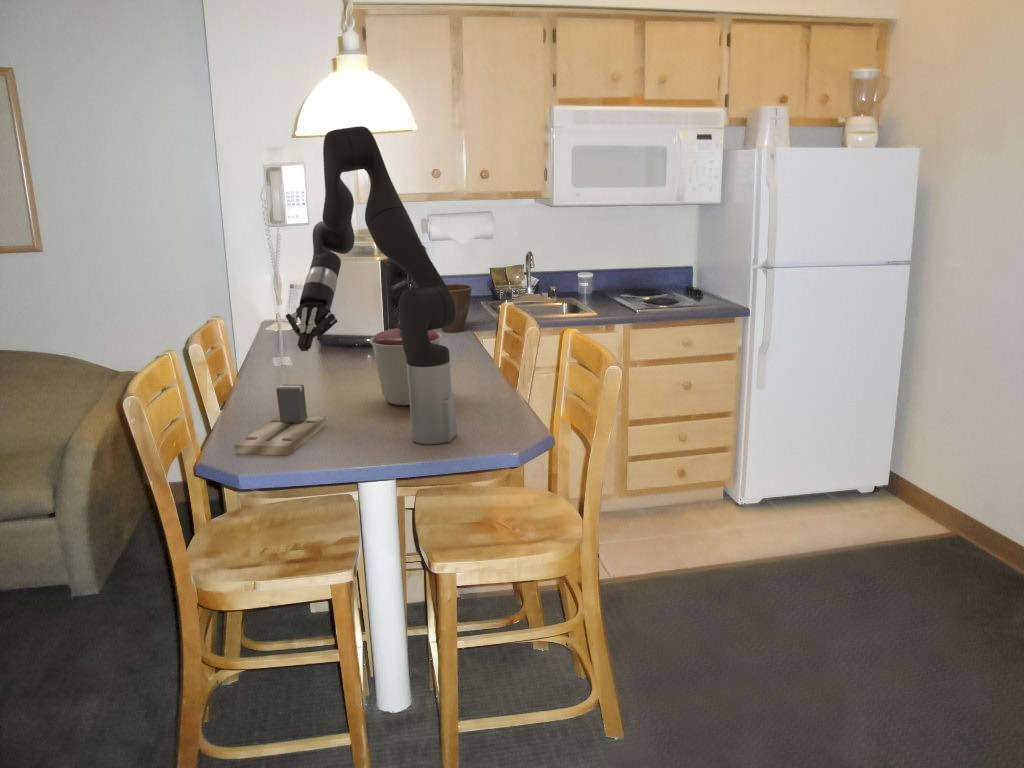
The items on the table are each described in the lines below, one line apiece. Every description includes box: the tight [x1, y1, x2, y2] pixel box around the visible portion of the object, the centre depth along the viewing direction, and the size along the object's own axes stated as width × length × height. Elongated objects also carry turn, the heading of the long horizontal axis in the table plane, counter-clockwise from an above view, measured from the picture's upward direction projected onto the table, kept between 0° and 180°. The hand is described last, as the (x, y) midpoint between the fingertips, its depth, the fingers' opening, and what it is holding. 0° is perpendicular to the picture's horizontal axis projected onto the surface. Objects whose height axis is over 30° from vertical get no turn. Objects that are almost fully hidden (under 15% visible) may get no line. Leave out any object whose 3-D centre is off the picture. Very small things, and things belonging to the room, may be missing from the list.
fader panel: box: [234, 415, 327, 456], centre depth 174 cm, size 12×20×2 cm, turn 170°
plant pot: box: [441, 283, 472, 334], centre depth 283 cm, size 15×15×16 cm
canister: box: [369, 320, 443, 407], centre depth 197 cm, size 18×18×21 cm
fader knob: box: [275, 384, 308, 423], centre depth 178 cm, size 5×4×8 cm
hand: (303, 349), depth 184 cm, fingers closed
